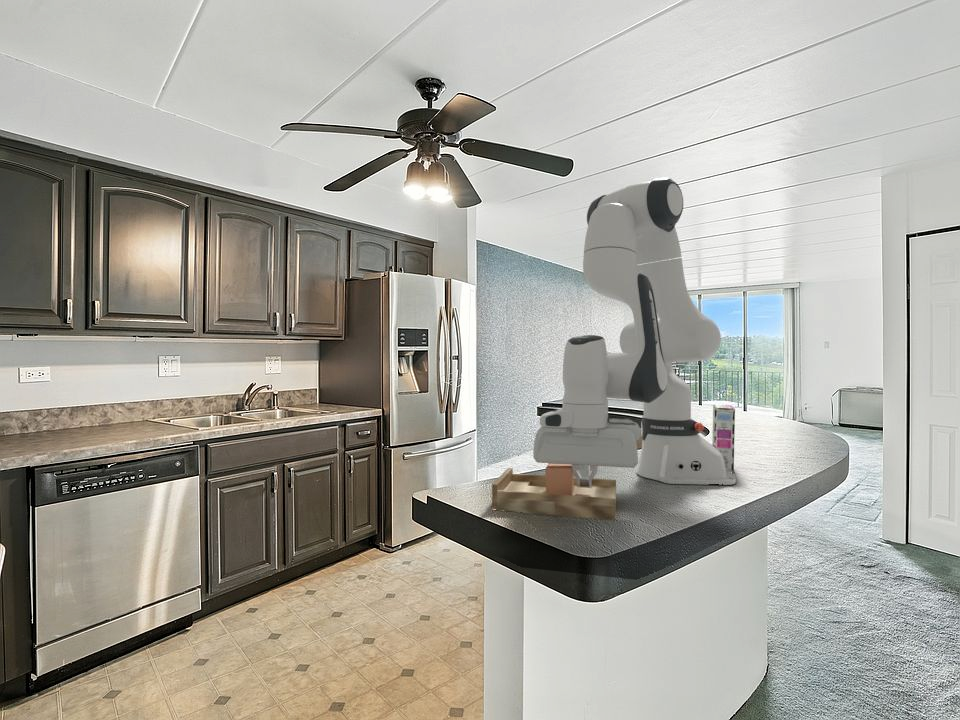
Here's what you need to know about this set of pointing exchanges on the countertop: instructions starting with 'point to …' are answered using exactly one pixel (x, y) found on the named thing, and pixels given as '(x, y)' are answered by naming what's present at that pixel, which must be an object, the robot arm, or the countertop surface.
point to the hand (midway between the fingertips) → (584, 487)
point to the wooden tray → (553, 497)
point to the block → (559, 479)
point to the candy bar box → (724, 433)
